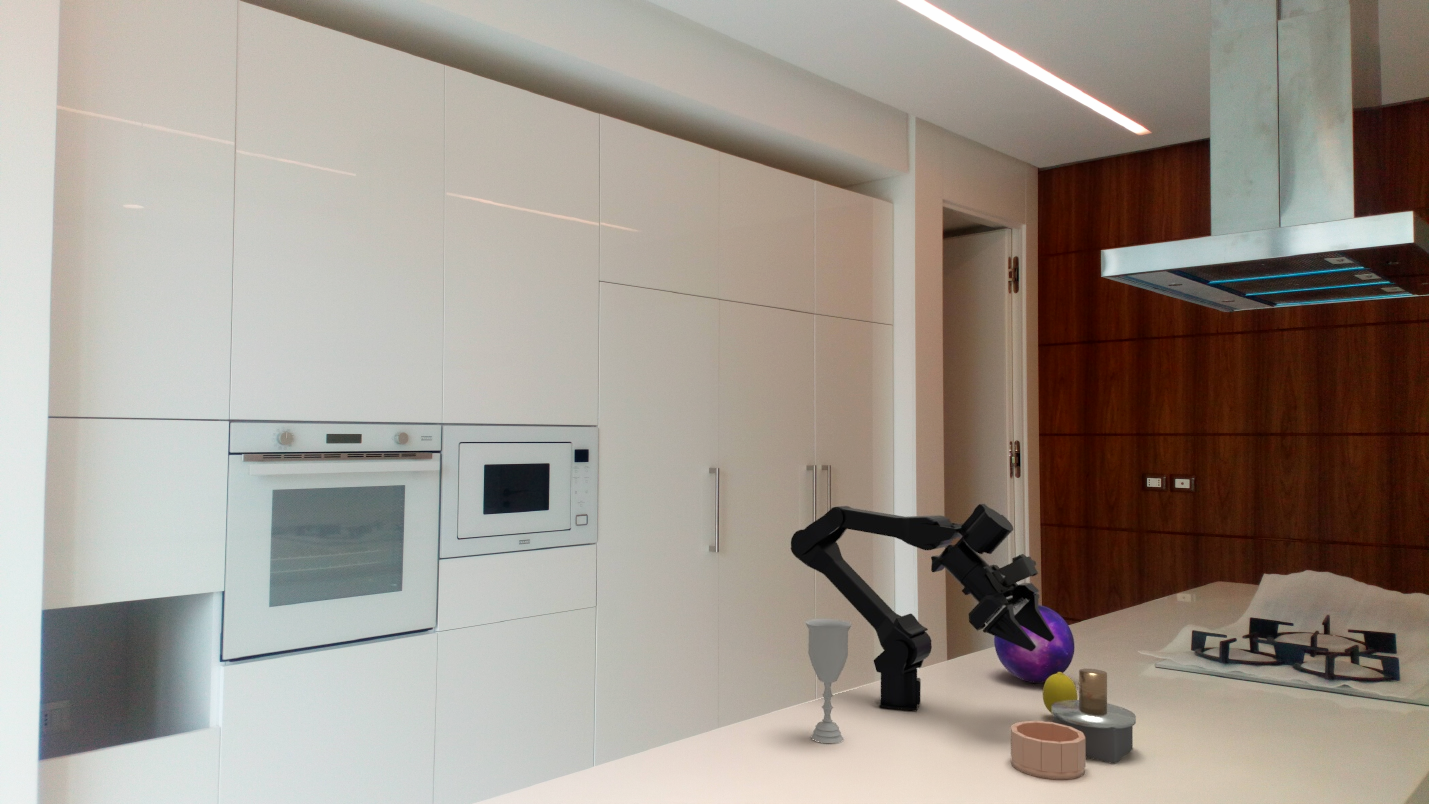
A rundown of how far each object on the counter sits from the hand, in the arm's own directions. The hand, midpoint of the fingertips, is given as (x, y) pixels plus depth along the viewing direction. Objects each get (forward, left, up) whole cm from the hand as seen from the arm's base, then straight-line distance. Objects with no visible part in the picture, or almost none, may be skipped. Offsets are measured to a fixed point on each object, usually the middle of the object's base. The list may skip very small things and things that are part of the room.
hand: (1043, 644), depth 146 cm
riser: (+7, -4, -14) cm, 17 cm away
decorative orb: (+2, +35, -15) cm, 38 cm away
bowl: (-1, -15, -14) cm, 21 cm away
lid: (+7, -4, -10) cm, 13 cm away
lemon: (+4, +10, -15) cm, 18 cm away
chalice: (-33, -12, -15) cm, 38 cm away
